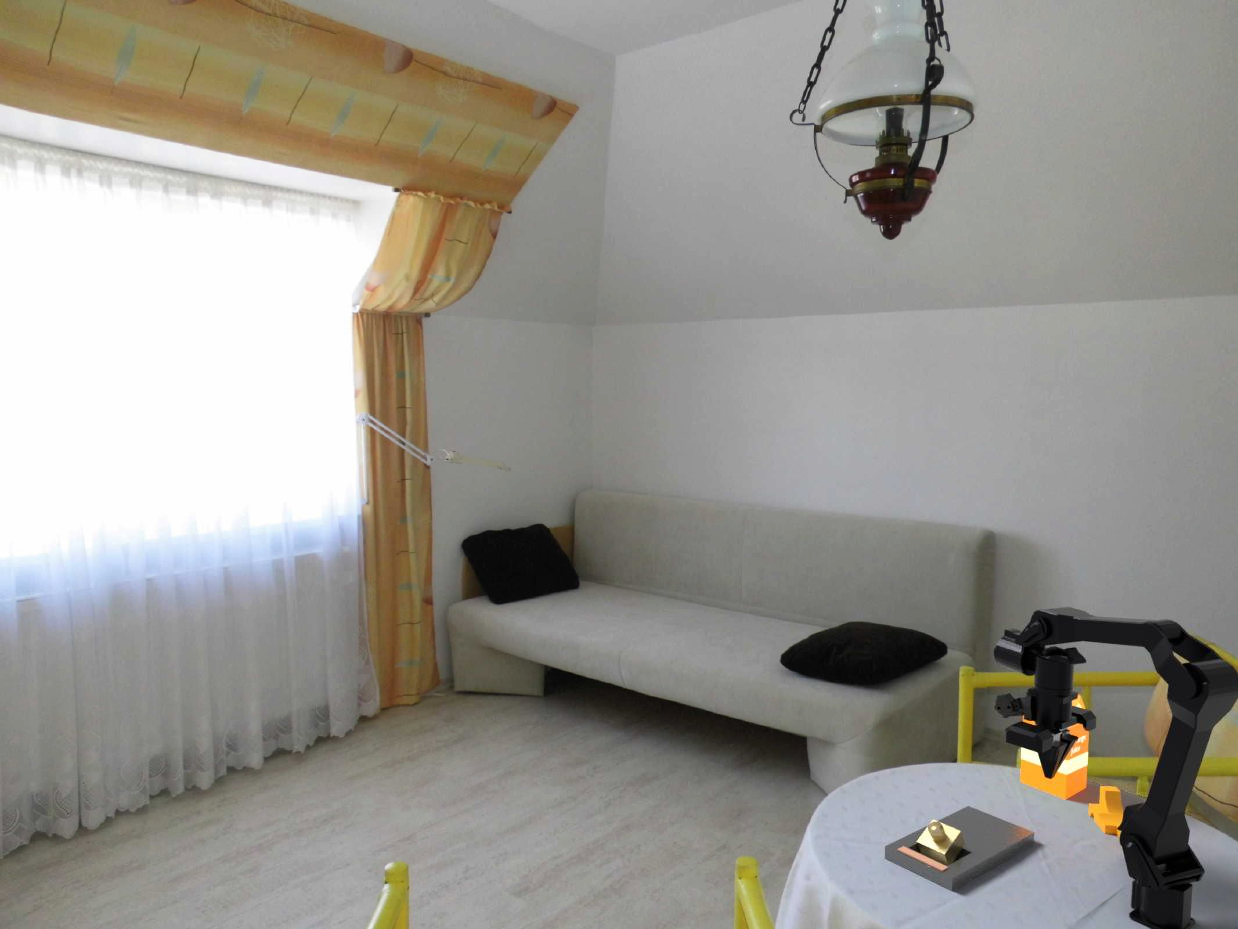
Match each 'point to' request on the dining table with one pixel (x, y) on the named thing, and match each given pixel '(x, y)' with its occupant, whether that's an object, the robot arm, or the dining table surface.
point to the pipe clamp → (1108, 810)
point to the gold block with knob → (941, 842)
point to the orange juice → (1070, 771)
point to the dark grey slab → (980, 853)
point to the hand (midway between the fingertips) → (1048, 778)
